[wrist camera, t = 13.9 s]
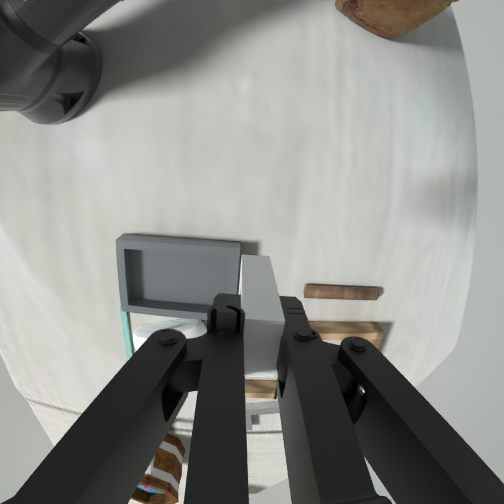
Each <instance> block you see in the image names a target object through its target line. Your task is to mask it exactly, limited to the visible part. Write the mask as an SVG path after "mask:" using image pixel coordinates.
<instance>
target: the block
mask: <svg viewBox="0 0 504 504" xmlns="http://www.w3.org/2000/svg"><path fill="white" fill-rule="evenodd" d="M457 1H459V0H336V9H337V10H338V11H340V12H342V13H343V14H344V15H345V16H346V17H348V18H349V19H350V20H351V21H353V22H354V23H356V24H358V25H359V26H361V27H363V28H364V29H366V30H368V31H370V32H372V33H374V34H376V35H379V36H382V37H384V38H389V39H392V38H396V37H399V36H401V35H403V34H406V33H407V32H409V31H411V30H413V29H415V28H416V27H417V26H419V25H420V24H422V23H424V22H426V21H428V20H430V19H431V18H433V17H434V16H436V15H437V14H439V13H440V12H442V11H443V10H445V9H446V8H447V7H449V6H450V5H451V3H452V2H457Z"/></svg>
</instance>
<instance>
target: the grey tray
mask: <svg viewBox="0 0 504 504" xmlns="http://www.w3.org/2000/svg"><path fill="white" fill-rule="evenodd" d="M116 253H117V268H118V280H119V291H120V300H121V309H122V311H124V312H132V313H140V314H149V315H158V316H167V317H177V318H188V319H199V320H207V311H208V309H209V308H210V307H212V306H213V300H214V297H215V296H217V295H218V294H219V293H226V294H237V283H238V270H239V258H240V242H234V241H220V240H206V239H192V238H178V237H163V236H148V235H133V234H122V235H121V236H120V237H119V238H117V239H116Z"/></svg>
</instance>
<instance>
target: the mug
mask: <svg viewBox="0 0 504 504" xmlns="http://www.w3.org/2000/svg"><path fill="white" fill-rule="evenodd" d="M184 453H185V449H184V447H183V445H182V444H181V442H180V440H179V438H177V437H174V436H172V435H170V434H168V433H167V434H166V436H165V438H164V440H163V442H162V443H161V445H160V447H159V449H158V451H157V452H156V454H155V456H154V458H153V460H152V461H151V463H150V465H149V467H148V469H147V470H146V472H145V474H144V476H143V477H142V479H141V481H140V483H139V484H138V486H137V488H136V490H135V492H134V493H133V495H132V497H131V499H133V500H136V501H138V502H141V503H143V504H175V503H177V502H178V490H179V483H180V479H181V476H182V461H183V456H184Z"/></svg>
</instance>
